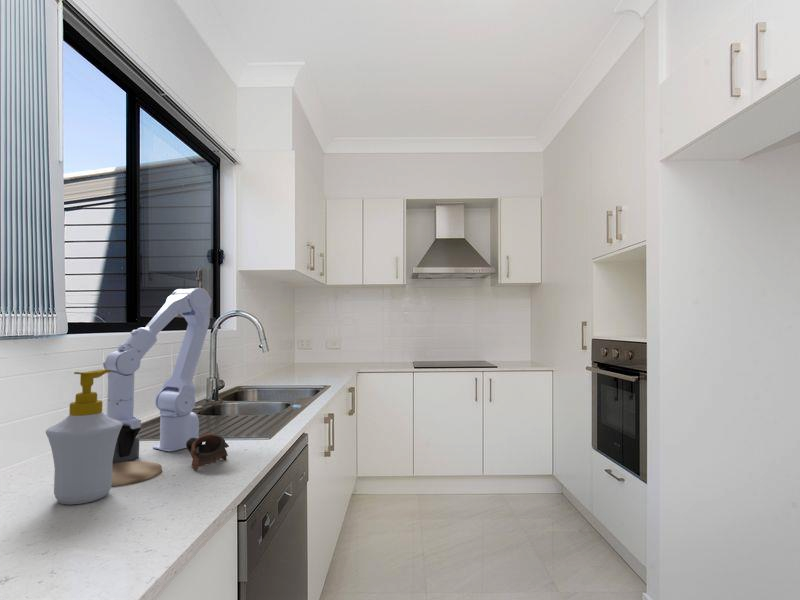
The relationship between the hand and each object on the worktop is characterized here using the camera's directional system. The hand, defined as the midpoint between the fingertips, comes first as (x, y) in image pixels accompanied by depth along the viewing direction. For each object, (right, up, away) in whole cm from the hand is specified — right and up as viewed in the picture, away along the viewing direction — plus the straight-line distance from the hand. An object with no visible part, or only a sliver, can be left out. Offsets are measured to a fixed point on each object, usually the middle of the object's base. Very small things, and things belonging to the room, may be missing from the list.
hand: (119, 454), depth 121 cm
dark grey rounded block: (-1, -1, -1) cm, 2 cm away
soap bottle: (+8, -1, -26) cm, 27 cm away
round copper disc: (+7, -1, -11) cm, 13 cm away
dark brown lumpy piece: (+23, -2, -3) cm, 23 cm away
